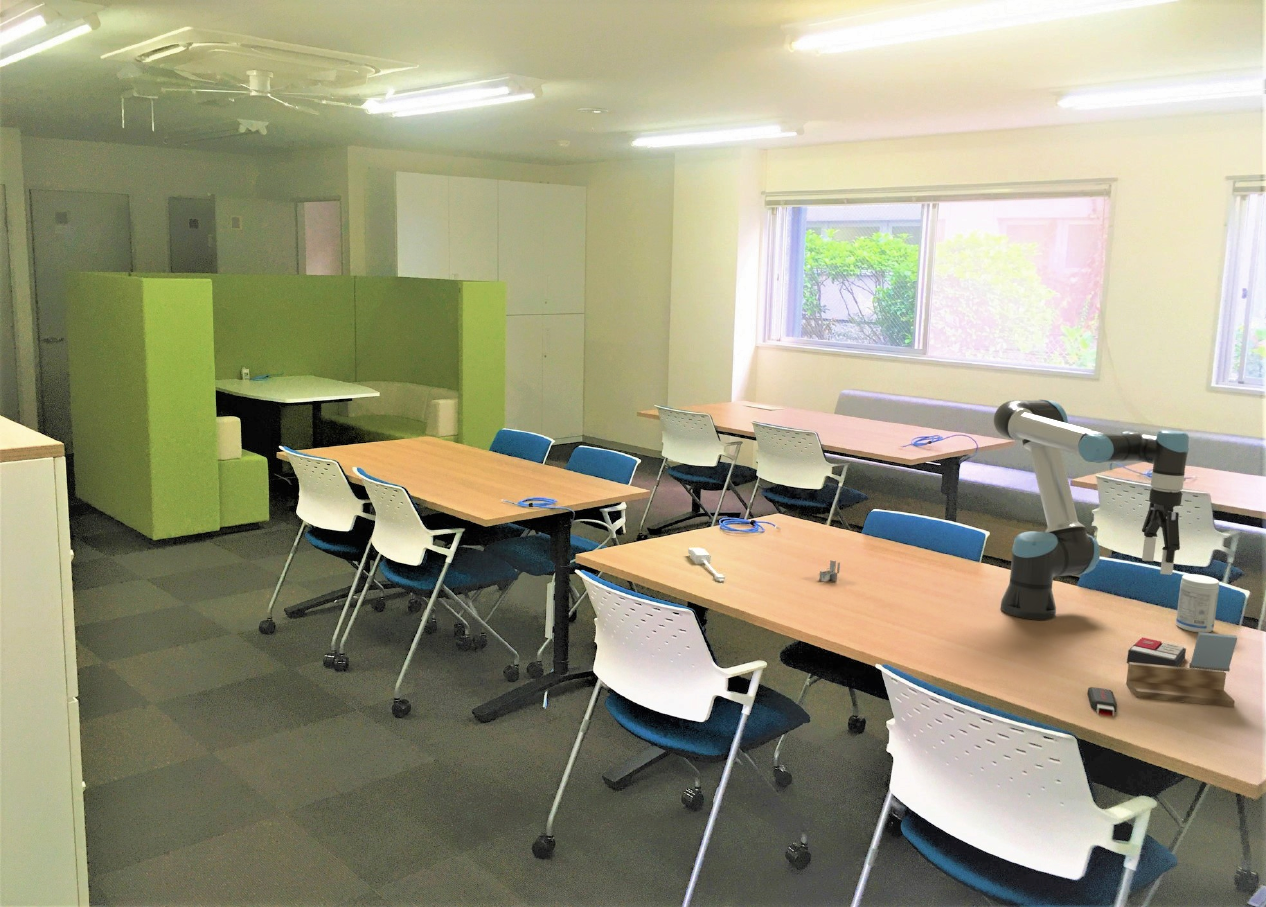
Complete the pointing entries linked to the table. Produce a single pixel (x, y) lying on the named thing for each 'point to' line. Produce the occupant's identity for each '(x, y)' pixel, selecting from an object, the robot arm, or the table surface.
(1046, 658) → the table surface
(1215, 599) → the supplement tub
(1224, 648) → the light blue flat tile
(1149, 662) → the calculator
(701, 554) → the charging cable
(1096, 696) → the usb drive
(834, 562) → the architectural model
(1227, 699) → the wooden l-shaped bracket
